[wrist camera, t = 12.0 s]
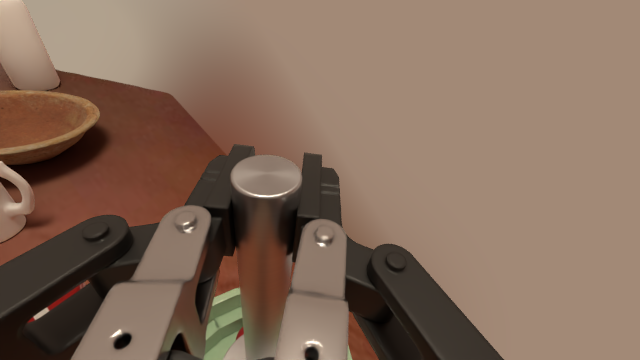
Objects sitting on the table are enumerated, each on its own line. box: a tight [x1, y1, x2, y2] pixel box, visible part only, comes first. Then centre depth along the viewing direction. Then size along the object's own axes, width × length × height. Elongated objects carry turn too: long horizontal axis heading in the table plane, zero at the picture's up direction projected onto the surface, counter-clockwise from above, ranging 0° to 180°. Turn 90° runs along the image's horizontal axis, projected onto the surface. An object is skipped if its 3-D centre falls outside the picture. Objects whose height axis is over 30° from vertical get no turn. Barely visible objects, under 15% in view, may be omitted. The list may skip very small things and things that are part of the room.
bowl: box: [0, 90, 100, 165], centre depth 47 cm, size 24×24×8 cm
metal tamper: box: [223, 155, 302, 360], centre depth 13 cm, size 6×6×18 cm
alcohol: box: [0, 0, 60, 91], centre depth 60 cm, size 9×9×30 cm
